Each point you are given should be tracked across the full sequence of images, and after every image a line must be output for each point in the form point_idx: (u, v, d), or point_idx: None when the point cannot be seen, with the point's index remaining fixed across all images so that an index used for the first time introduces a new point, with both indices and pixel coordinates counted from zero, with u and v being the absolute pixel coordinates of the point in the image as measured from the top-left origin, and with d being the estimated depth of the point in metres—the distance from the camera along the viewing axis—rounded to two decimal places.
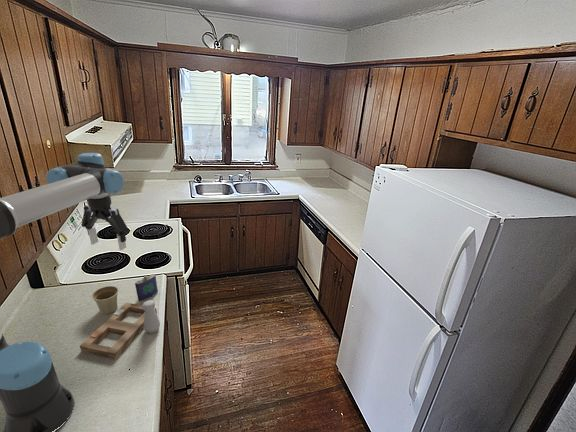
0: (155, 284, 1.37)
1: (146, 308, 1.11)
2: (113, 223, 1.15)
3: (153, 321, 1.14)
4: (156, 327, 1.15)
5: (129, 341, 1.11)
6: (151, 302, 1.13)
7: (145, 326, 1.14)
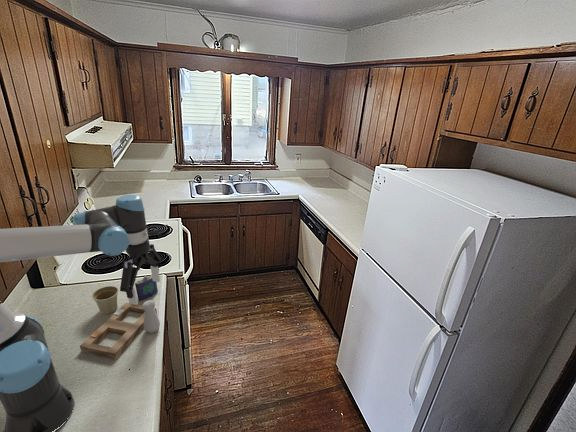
0: (155, 284, 1.37)
1: (146, 308, 1.11)
2: None
3: (153, 321, 1.14)
4: (156, 327, 1.15)
5: (129, 341, 1.11)
6: (151, 302, 1.13)
7: (145, 326, 1.14)
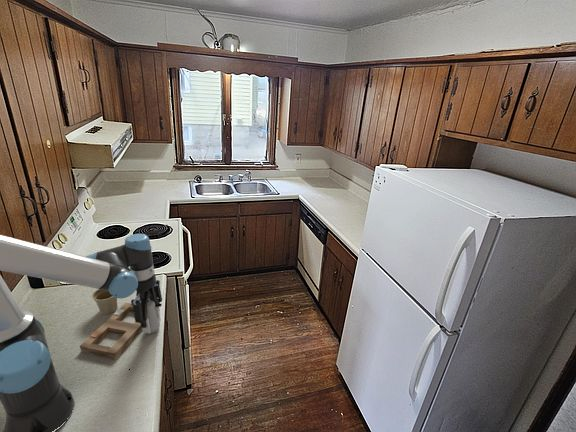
0: None
1: None
2: None
3: (153, 321, 1.14)
4: (156, 327, 1.15)
5: (129, 341, 1.11)
6: (151, 302, 1.13)
7: None
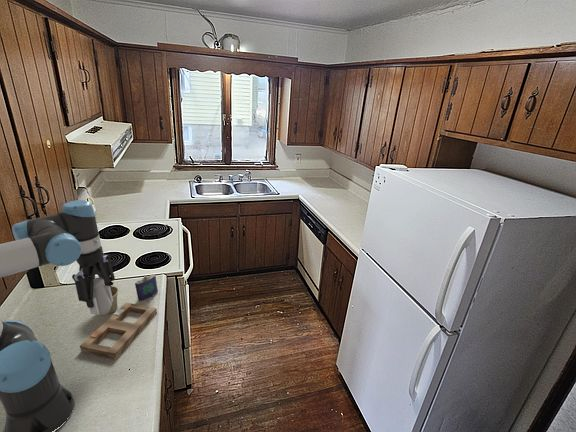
0: (155, 284, 1.37)
1: None
2: (85, 284, 0.98)
3: (103, 300, 1.02)
4: (106, 308, 1.03)
5: (129, 341, 1.11)
6: (99, 279, 1.01)
7: None
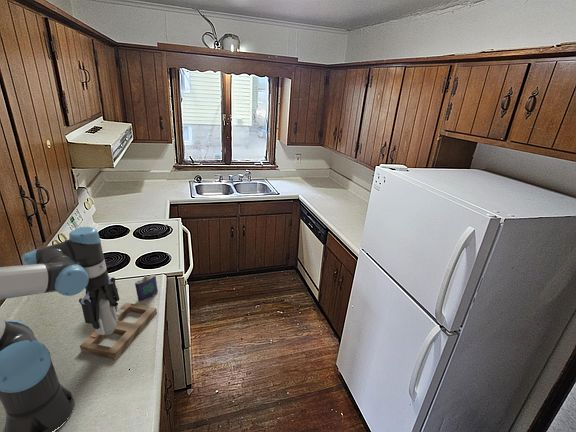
0: (155, 284, 1.37)
1: None
2: (91, 307, 1.01)
3: (108, 321, 1.06)
4: (111, 328, 1.07)
5: (129, 341, 1.11)
6: (105, 301, 1.05)
7: None
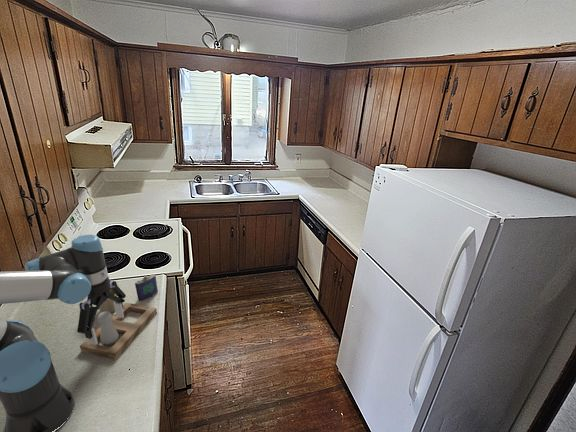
0: (155, 284, 1.37)
1: (101, 320, 1.05)
2: None
3: (110, 333, 1.08)
4: (113, 340, 1.09)
5: (129, 341, 1.11)
6: (107, 313, 1.07)
7: (101, 339, 1.08)
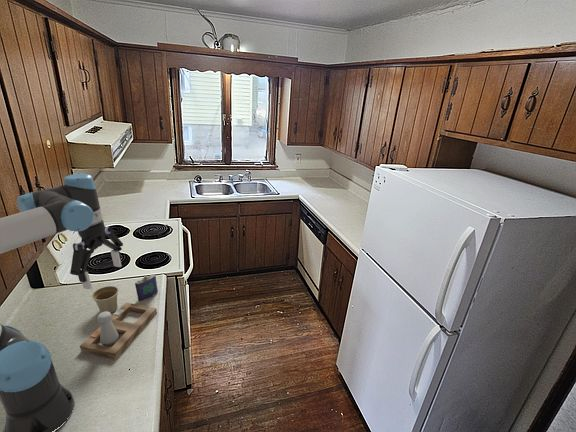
0: (155, 284, 1.37)
1: (100, 320, 1.05)
2: (81, 257, 0.97)
3: (110, 333, 1.08)
4: (113, 340, 1.09)
5: (129, 341, 1.11)
6: (107, 313, 1.07)
7: (101, 339, 1.08)
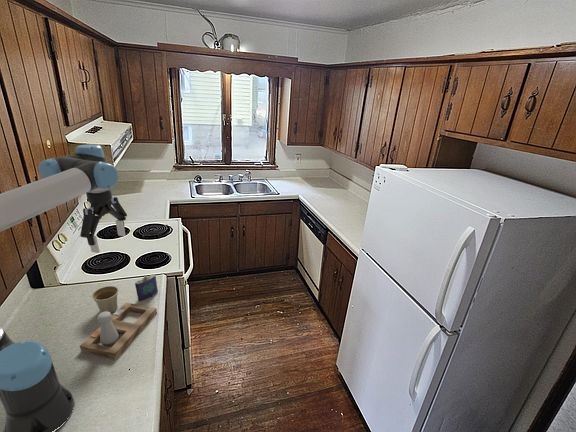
0: (155, 284, 1.37)
1: (101, 320, 1.05)
2: None
3: (110, 333, 1.08)
4: (113, 340, 1.09)
5: (129, 341, 1.11)
6: (107, 313, 1.07)
7: (101, 339, 1.08)
